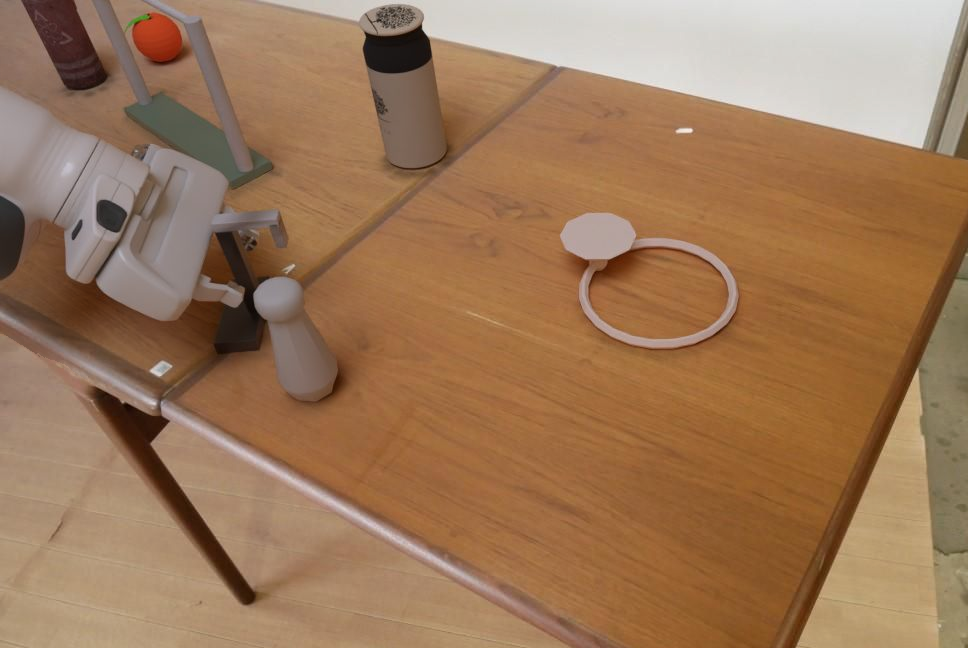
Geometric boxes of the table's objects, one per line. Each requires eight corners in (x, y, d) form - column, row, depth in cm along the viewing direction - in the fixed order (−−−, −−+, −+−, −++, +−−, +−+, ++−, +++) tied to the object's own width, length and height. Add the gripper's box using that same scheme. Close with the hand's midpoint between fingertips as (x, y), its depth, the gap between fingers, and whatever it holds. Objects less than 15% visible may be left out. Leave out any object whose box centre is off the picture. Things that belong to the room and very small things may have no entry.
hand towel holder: (683, 346, 79) (517, 262, 88) (680, 377, 82) (520, 293, 91) (773, 251, 87) (613, 184, 96) (767, 283, 90) (613, 215, 100)
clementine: (141, 76, 128) (121, 30, 122) (132, 58, 132) (112, 13, 126) (193, 61, 130) (176, 16, 125) (183, 44, 134) (166, -1, 129)
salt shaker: (315, 357, 86) (278, 257, 76) (355, 380, 83) (322, 280, 74) (271, 393, 82) (227, 294, 73) (312, 418, 80) (271, 319, 70)
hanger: (217, 353, 86) (169, 254, 77) (235, 289, 93) (193, 191, 84) (306, 346, 87) (269, 246, 77) (317, 282, 93) (285, 183, 84)
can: (113, 81, 127) (70, -13, 116) (69, 95, 124) (21, 0, 114) (103, 66, 130) (60, -27, 120) (60, 79, 128) (13, -15, 118)
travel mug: (441, 132, 114) (419, -2, 100) (452, 163, 108) (431, 26, 95) (382, 143, 112) (353, 8, 99) (390, 175, 107) (360, 38, 94)
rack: (233, 189, 106) (171, 31, 91) (126, 116, 120) (57, -33, 105) (273, 168, 109) (219, 11, 94) (164, 99, 123) (102, -49, 108)
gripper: (125, 158, 86) (251, 226, 94) (61, 289, 73) (215, 358, 80) (152, 115, 83) (279, 190, 91) (90, 244, 69) (247, 320, 77)
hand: (249, 270), depth 85 cm, fingers open, 7 cm apart
